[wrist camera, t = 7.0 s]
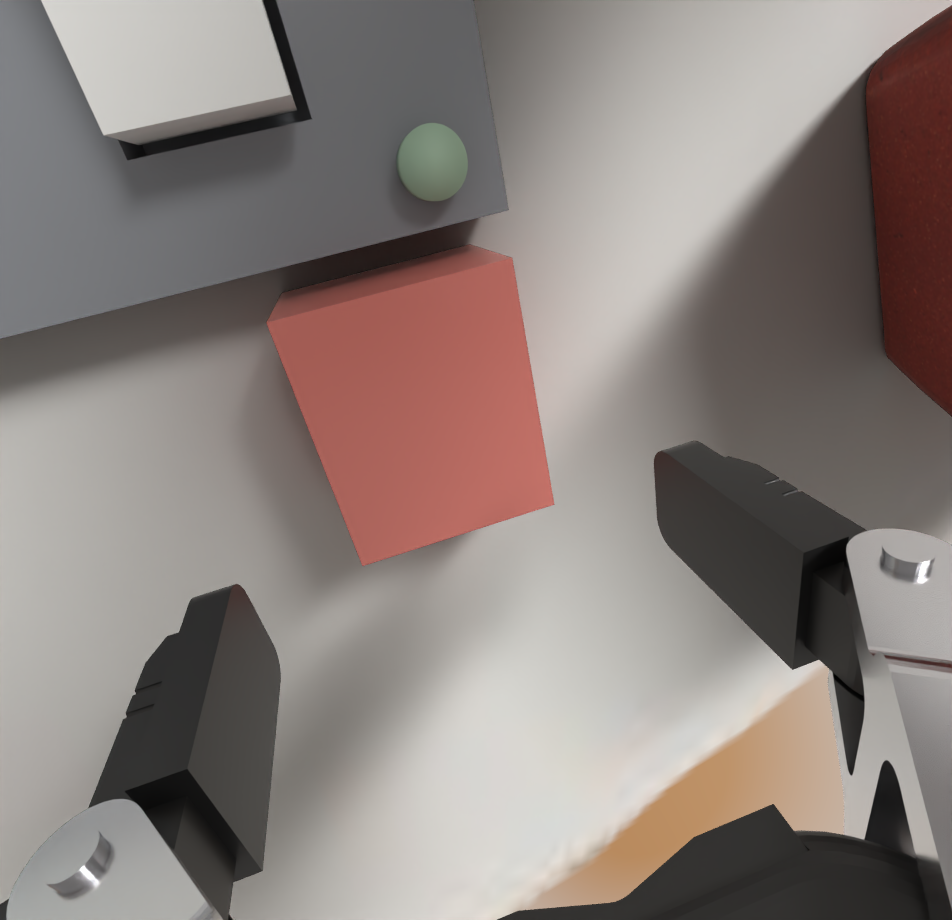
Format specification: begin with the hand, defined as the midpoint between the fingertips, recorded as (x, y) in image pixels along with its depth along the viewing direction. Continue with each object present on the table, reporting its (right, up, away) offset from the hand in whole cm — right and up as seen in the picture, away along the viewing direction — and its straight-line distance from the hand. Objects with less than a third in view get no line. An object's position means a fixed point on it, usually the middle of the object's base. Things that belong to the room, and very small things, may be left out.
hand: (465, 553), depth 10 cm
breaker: (-7, +12, +2) cm, 14 cm away
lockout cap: (-2, +5, +10) cm, 11 cm away
